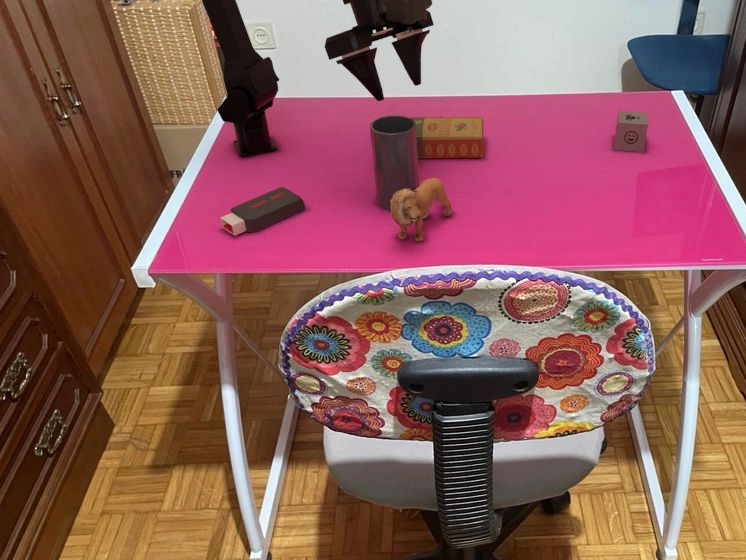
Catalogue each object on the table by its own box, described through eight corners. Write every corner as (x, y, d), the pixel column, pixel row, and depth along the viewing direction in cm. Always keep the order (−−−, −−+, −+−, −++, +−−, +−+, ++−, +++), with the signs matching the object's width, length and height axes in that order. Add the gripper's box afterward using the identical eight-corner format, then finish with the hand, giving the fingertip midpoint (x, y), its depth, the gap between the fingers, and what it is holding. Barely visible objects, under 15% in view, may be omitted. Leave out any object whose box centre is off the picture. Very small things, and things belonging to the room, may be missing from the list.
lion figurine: (419, 257, 102) (415, 201, 96) (385, 250, 103) (379, 194, 98) (457, 207, 112) (456, 154, 106) (426, 201, 114) (423, 148, 108)
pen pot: (371, 195, 115) (363, 120, 107) (410, 186, 118) (405, 112, 109) (386, 214, 111) (379, 137, 103) (426, 205, 113) (422, 128, 105)
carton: (482, 159, 125) (483, 136, 122) (390, 159, 125) (388, 135, 122) (483, 138, 131) (483, 115, 128) (395, 137, 131) (393, 115, 128)
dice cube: (614, 137, 131) (618, 111, 127) (642, 139, 130) (647, 112, 127) (614, 150, 127) (618, 122, 124) (643, 151, 126) (648, 124, 123)
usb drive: (305, 209, 112) (302, 193, 110) (238, 239, 106) (234, 223, 104) (286, 198, 115) (282, 182, 113) (219, 226, 109) (215, 210, 107)
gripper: (361, -27, 91) (401, 98, 97) (444, -45, 104) (475, 66, 110) (304, -2, 98) (345, 113, 104) (388, -22, 111) (421, 81, 117)
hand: (400, 92), depth 109 cm, fingers open, 9 cm apart
